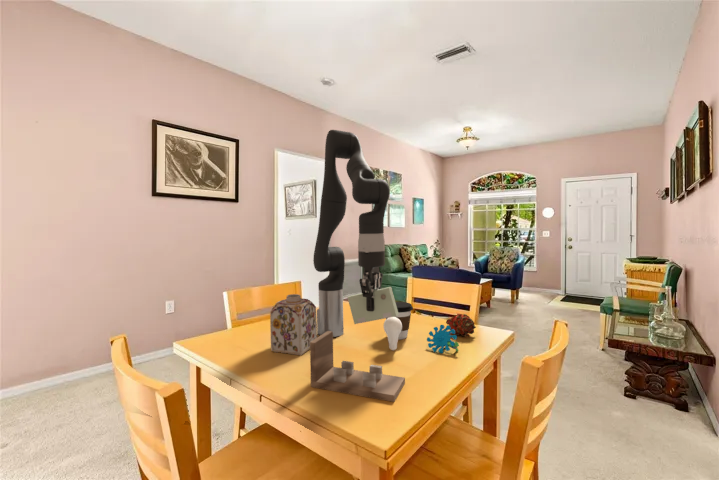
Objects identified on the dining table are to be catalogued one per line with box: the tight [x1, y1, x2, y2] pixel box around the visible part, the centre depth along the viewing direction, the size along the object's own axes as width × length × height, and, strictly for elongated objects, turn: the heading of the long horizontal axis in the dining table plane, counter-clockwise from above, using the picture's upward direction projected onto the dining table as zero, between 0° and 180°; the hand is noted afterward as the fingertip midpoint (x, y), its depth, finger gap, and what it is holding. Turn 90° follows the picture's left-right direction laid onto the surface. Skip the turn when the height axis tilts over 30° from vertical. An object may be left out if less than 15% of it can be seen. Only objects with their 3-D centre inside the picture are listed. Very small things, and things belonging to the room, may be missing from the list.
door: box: [346, 286, 399, 325], centre depth 97 cm, size 13×4×8 cm, turn 68°
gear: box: [426, 324, 460, 354], centre depth 112 cm, size 11×6×10 cm
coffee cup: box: [385, 301, 414, 340], centre depth 125 cm, size 11×11×12 cm
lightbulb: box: [383, 317, 402, 351], centre depth 112 cm, size 6×6×11 cm
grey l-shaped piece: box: [309, 331, 406, 403], centre depth 87 cm, size 22×10×12 cm, turn 68°
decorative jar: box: [269, 293, 318, 356], centre depth 115 cm, size 12×12×18 cm
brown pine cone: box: [445, 313, 477, 337], centre depth 127 cm, size 8×8×12 cm
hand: (372, 309), depth 97 cm, fingers closed on door, 2 cm apart
